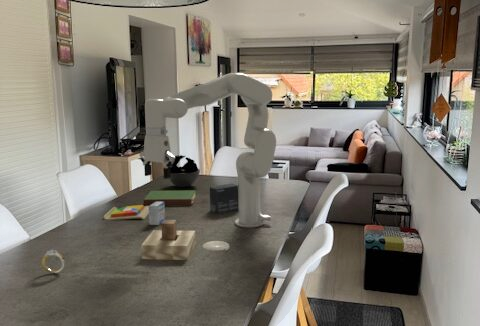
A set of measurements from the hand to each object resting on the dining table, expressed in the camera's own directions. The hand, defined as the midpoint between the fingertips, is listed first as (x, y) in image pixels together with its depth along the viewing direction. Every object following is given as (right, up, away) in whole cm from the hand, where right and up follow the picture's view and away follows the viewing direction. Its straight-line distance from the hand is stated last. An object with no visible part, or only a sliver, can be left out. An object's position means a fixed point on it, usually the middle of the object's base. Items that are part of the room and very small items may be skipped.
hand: (157, 176), depth 171 cm
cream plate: (+23, -27, -4) cm, 35 cm away
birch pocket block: (+6, -28, -9) cm, 30 cm away
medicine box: (-5, -21, +28) cm, 35 cm away
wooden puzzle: (-21, -20, +41) cm, 50 cm away
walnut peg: (+6, -27, -9) cm, 29 cm away
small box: (+24, -18, +46) cm, 55 cm away
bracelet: (-29, -31, -25) cm, 49 cm away
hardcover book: (-5, -15, +64) cm, 66 cm away
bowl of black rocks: (-2, -9, +95) cm, 96 cm away
